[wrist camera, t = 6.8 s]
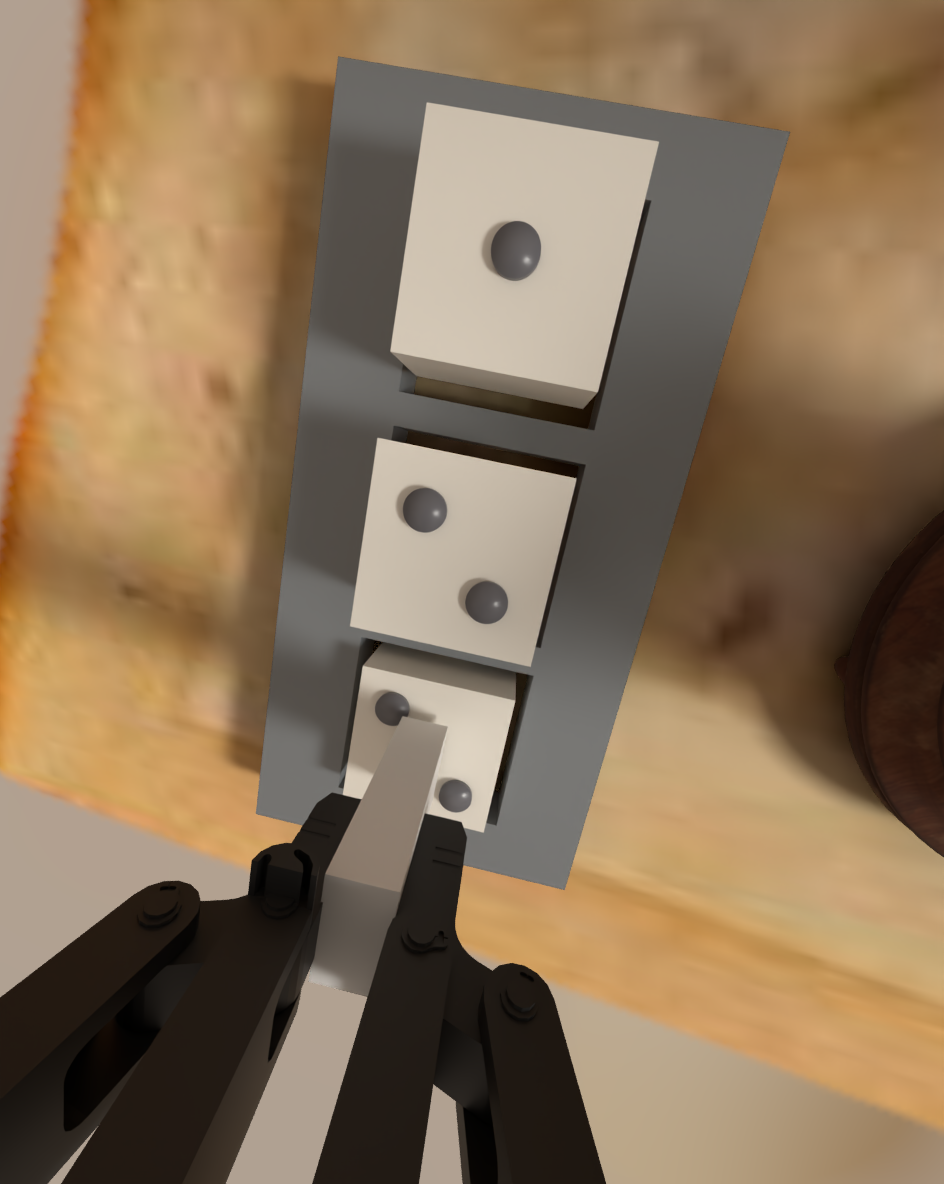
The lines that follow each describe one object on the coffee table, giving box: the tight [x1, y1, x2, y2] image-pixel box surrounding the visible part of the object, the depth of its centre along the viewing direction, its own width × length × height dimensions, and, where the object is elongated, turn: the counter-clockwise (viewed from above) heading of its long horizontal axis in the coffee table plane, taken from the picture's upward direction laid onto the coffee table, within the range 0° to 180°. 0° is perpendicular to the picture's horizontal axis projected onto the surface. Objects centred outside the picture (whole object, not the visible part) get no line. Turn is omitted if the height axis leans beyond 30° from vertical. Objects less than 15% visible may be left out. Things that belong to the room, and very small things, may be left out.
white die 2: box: [350, 438, 577, 667], centre depth 14 cm, size 5×5×3 cm
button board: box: [256, 57, 790, 890], centre depth 17 cm, size 24×12×2 cm, turn 169°
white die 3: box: [343, 642, 516, 833], centre depth 18 cm, size 5×5×3 cm
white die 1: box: [390, 102, 659, 409], centre depth 13 cm, size 5×5×3 cm
